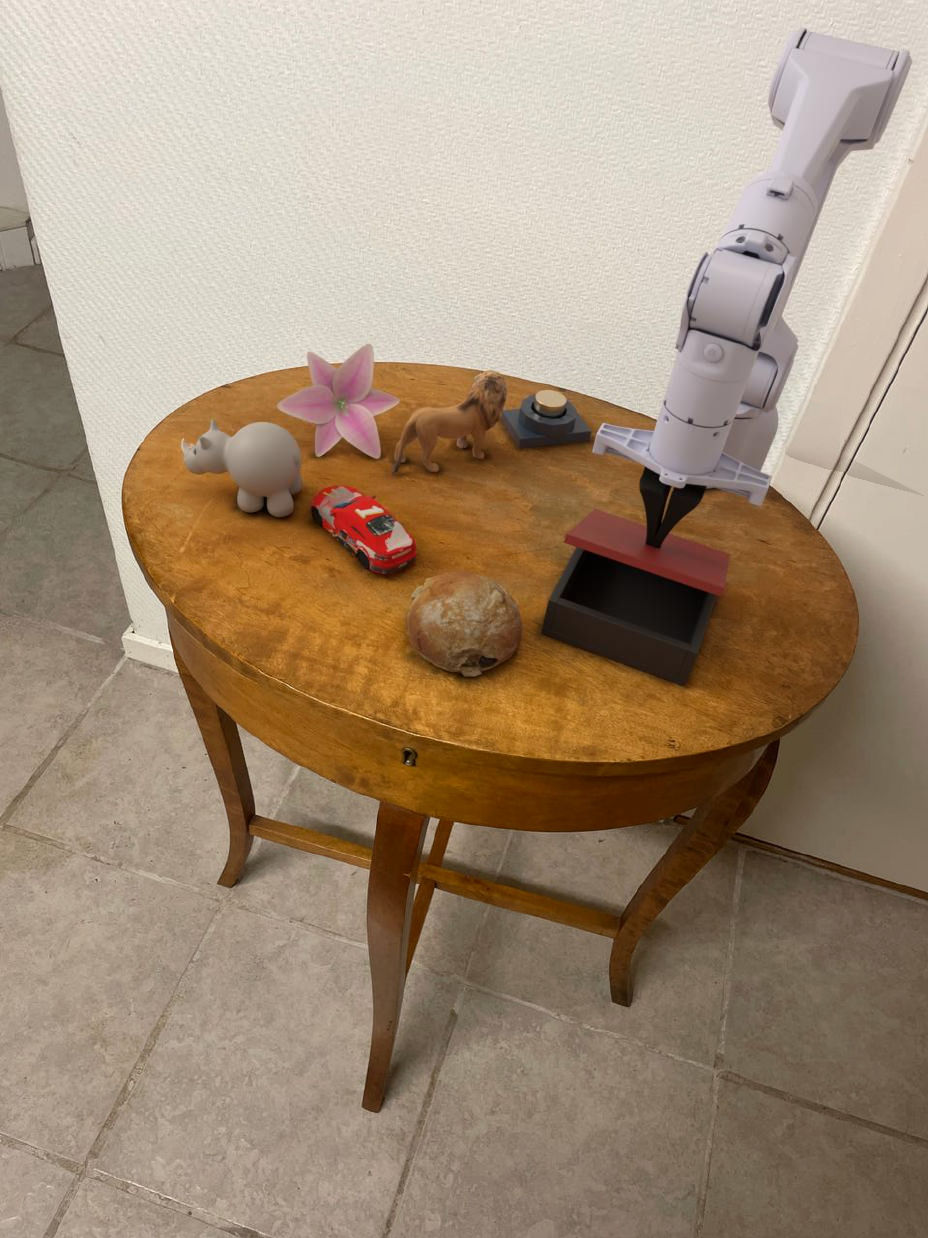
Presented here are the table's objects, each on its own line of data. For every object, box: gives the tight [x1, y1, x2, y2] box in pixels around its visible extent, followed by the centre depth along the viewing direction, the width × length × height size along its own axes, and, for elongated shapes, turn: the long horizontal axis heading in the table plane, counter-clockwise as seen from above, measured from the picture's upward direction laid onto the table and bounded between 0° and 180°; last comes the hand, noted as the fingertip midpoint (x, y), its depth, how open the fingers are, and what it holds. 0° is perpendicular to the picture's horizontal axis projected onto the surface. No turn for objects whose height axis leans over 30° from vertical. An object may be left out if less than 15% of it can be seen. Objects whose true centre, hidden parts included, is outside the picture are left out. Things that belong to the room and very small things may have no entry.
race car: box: [310, 484, 418, 575], centre depth 89 cm, size 13×5×4 cm, turn 39°
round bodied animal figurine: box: [180, 419, 303, 518], centre depth 90 cm, size 7×12×8 cm, turn 80°
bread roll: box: [406, 570, 523, 678], centre depth 81 cm, size 10×10×8 cm
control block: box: [500, 393, 592, 449], centre depth 107 cm, size 9×6×3 cm
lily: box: [276, 343, 401, 460], centre depth 100 cm, size 12×12×10 cm
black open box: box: [540, 547, 717, 687], centre depth 85 cm, size 14×14×4 cm
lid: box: [563, 508, 731, 598], centre depth 82 cm, size 14×14×1 cm
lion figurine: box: [390, 369, 508, 474], centre depth 99 cm, size 15×5×9 cm, turn 129°
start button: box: [533, 389, 568, 419], centre depth 105 cm, size 4×4×2 cm
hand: (654, 540), depth 82 cm, fingers closed
